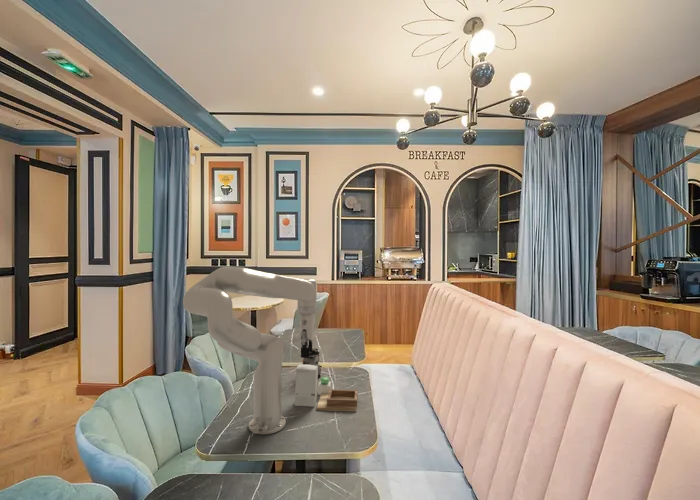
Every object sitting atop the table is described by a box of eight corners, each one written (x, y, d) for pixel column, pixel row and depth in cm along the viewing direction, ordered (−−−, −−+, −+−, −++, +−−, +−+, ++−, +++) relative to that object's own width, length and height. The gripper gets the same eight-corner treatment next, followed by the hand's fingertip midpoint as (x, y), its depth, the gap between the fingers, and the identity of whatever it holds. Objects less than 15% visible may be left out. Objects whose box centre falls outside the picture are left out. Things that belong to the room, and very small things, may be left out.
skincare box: (294, 406, 137) (294, 368, 137) (297, 399, 143) (297, 363, 143) (315, 407, 136) (315, 369, 136) (317, 400, 143) (318, 364, 142)
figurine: (301, 382, 161) (301, 350, 161) (302, 373, 172) (302, 343, 172) (320, 382, 162) (321, 350, 161) (320, 373, 173) (321, 343, 173)
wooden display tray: (356, 411, 133) (356, 402, 133) (316, 410, 134) (316, 401, 134) (357, 396, 146) (357, 388, 146) (321, 395, 147) (321, 387, 147)
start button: (328, 392, 148) (328, 380, 148) (319, 392, 148) (319, 380, 148) (329, 389, 152) (329, 377, 152) (321, 389, 152) (321, 377, 152)
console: (329, 395, 147) (329, 386, 147) (318, 395, 148) (318, 385, 148) (331, 390, 152) (331, 381, 152) (319, 390, 153) (319, 381, 152)
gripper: (312, 314, 131) (312, 362, 131) (319, 306, 148) (319, 348, 148) (292, 313, 131) (292, 361, 131) (301, 306, 148) (301, 348, 148)
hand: (306, 354), depth 140 cm, fingers open, 6 cm apart
